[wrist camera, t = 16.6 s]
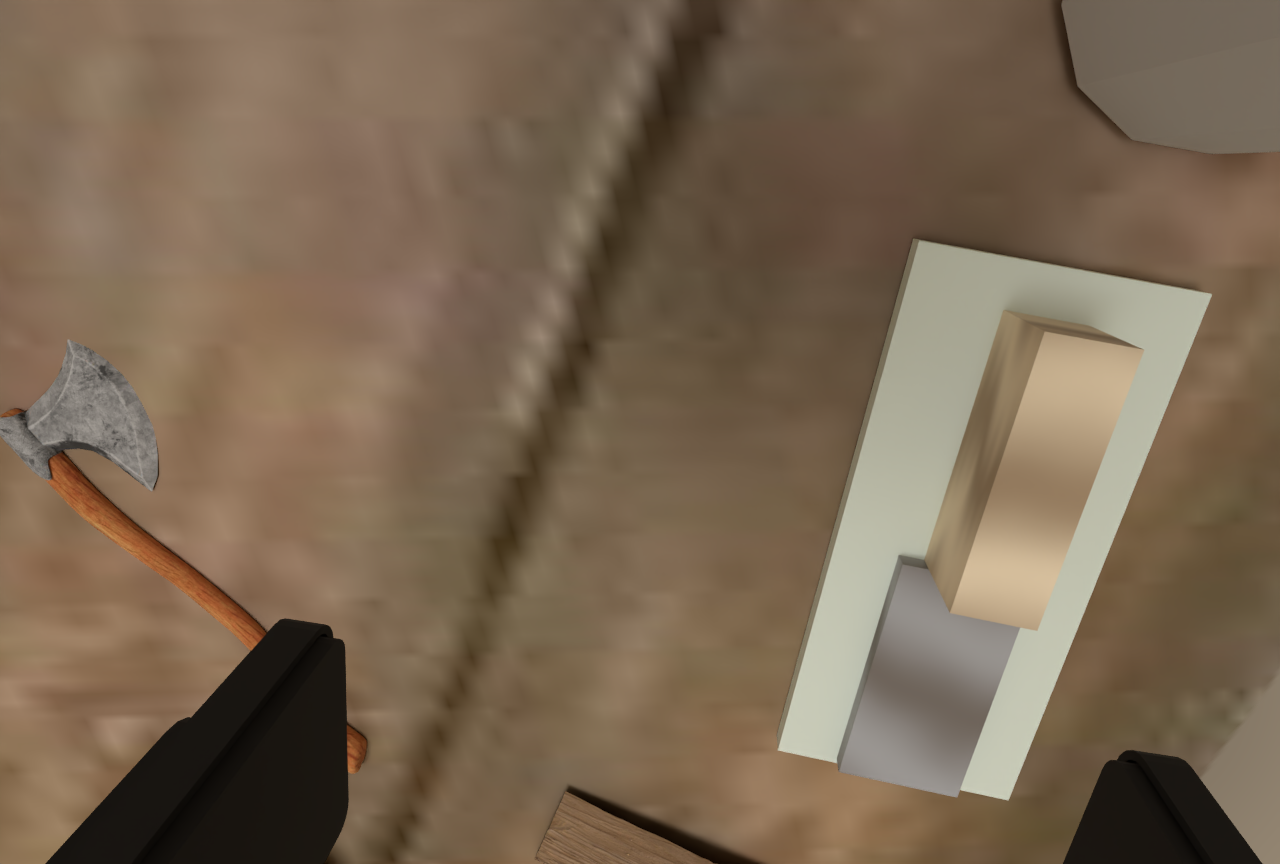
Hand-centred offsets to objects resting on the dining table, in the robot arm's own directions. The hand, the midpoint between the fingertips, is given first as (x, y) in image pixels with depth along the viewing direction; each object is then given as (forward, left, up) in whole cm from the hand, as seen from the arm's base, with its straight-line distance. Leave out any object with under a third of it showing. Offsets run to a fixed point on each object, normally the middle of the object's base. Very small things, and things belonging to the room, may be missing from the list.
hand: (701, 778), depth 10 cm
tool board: (+5, +11, -22) cm, 25 cm away
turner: (+6, +11, -21) cm, 25 cm away
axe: (+13, -20, -23) cm, 33 cm away
